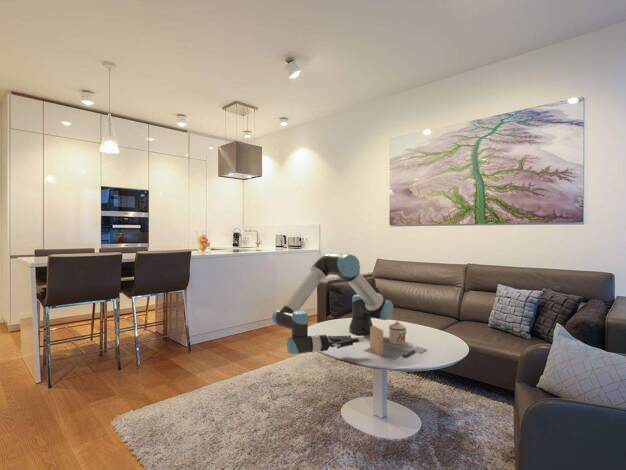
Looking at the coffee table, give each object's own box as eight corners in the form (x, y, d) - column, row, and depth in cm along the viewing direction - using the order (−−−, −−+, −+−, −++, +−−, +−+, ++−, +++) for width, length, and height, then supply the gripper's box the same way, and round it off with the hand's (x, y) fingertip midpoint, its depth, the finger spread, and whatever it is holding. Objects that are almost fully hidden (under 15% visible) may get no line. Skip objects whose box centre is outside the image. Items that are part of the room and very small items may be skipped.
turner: (410, 360, 168) (410, 356, 168) (398, 356, 172) (398, 353, 172) (427, 349, 183) (427, 346, 183) (416, 347, 187) (416, 343, 187)
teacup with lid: (398, 346, 188) (398, 324, 187) (385, 342, 195) (385, 321, 195) (412, 342, 195) (412, 321, 195) (399, 338, 202) (399, 318, 202)
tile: (378, 355, 172) (378, 331, 172) (370, 349, 181) (370, 326, 181) (383, 354, 173) (383, 330, 173) (374, 348, 182) (374, 326, 181)
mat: (363, 351, 179) (363, 350, 179) (379, 344, 191) (379, 343, 191) (394, 360, 167) (394, 359, 167) (409, 352, 179) (409, 351, 179)
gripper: (314, 346, 173) (357, 342, 181) (323, 355, 161) (369, 350, 168) (314, 331, 173) (357, 327, 181) (323, 339, 161) (369, 335, 168)
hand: (363, 338), depth 174 cm, fingers closed
